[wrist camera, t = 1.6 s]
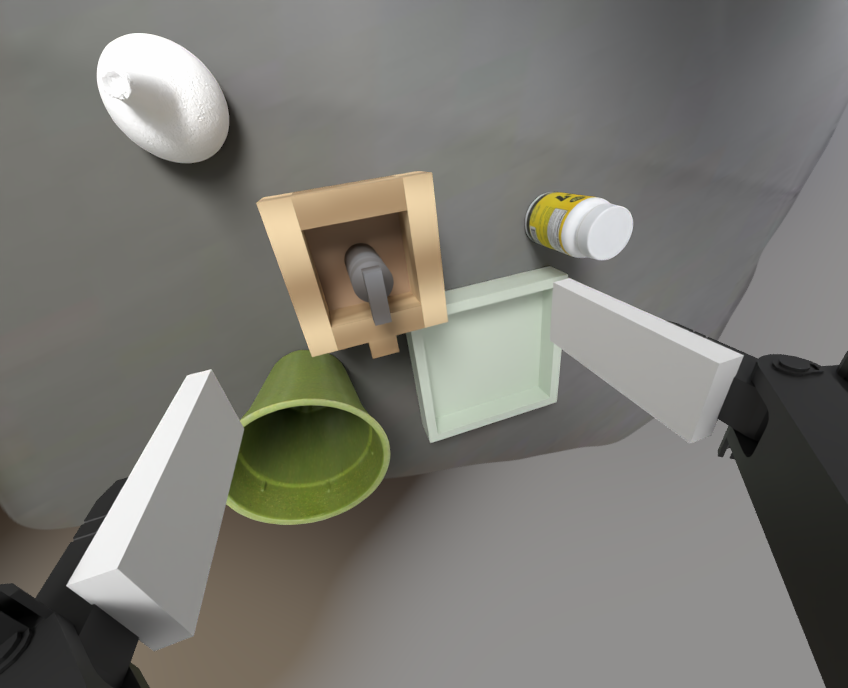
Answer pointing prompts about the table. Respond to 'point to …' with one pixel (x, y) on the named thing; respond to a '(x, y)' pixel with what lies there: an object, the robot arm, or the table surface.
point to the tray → (487, 354)
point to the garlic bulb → (163, 98)
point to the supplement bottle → (579, 225)
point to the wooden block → (361, 263)
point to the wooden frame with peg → (352, 203)
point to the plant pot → (306, 445)
